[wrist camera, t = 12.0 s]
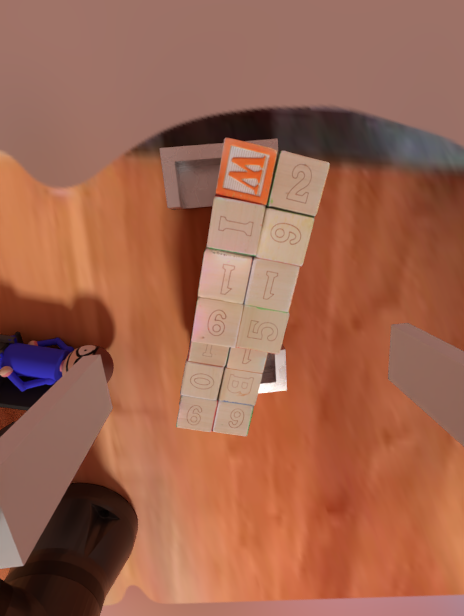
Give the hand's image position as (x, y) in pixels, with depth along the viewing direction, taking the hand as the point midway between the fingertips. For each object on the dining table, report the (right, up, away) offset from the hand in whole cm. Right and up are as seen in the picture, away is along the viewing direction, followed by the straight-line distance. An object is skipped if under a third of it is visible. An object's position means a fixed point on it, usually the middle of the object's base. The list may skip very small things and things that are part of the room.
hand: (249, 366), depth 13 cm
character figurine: (-22, -3, +23) cm, 31 cm away
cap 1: (-2, +16, +18) cm, 24 cm away
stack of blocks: (-1, +5, +18) cm, 18 cm away
